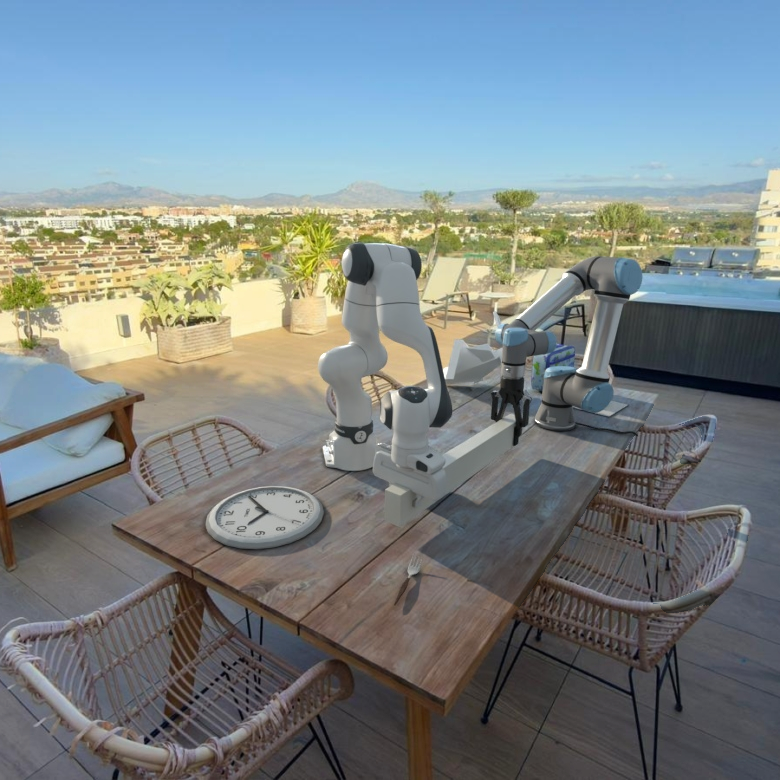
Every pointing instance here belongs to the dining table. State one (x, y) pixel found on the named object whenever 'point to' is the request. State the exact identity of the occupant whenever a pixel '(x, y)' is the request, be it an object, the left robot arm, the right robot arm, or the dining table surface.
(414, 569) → the fork
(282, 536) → the wall clock
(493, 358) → the white plastic object
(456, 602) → the dining table surface
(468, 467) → the post
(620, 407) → the invitation card
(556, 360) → the lunch box
